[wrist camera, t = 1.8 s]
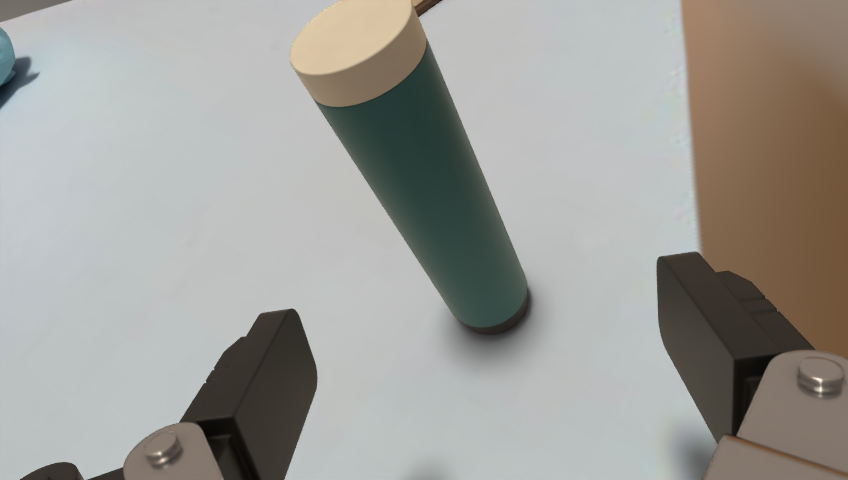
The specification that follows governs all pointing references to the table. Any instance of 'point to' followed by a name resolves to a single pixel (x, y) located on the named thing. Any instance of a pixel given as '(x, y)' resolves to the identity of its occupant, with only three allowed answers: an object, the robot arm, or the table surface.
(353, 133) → the cylinder
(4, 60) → the decorative pot
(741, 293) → the robot arm
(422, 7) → the board
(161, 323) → the table surface
